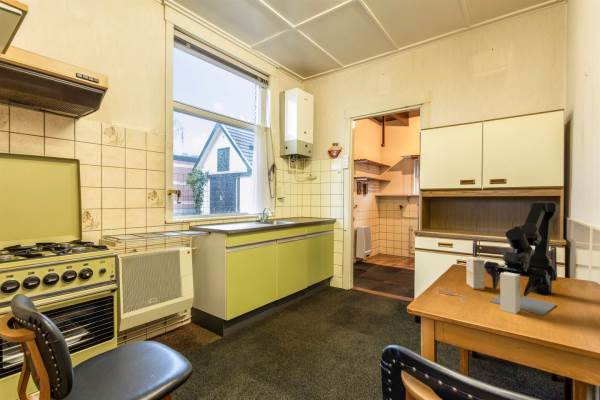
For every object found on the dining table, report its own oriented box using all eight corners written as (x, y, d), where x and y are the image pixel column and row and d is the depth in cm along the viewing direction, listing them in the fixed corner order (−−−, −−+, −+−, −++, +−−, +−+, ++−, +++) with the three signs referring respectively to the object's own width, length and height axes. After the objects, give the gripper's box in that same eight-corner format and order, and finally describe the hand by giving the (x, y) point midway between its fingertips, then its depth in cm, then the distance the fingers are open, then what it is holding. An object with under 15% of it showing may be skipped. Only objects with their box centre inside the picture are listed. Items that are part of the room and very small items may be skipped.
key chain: (432, 294, 120) (432, 292, 120) (441, 290, 124) (441, 289, 124) (464, 303, 109) (464, 300, 109) (473, 299, 114) (473, 297, 114)
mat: (506, 293, 119) (506, 292, 119) (556, 305, 106) (556, 304, 106) (490, 301, 110) (490, 300, 110) (542, 315, 97) (542, 314, 97)
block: (505, 307, 105) (505, 271, 104) (520, 310, 101) (520, 274, 101) (500, 309, 102) (500, 273, 102) (515, 313, 98) (515, 276, 98)
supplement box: (485, 290, 124) (485, 260, 124) (473, 289, 125) (473, 259, 125) (477, 284, 132) (477, 256, 132) (466, 284, 133) (466, 256, 133)
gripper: (486, 240, 111) (473, 272, 105) (547, 246, 96) (536, 285, 90) (494, 258, 116) (482, 290, 110) (554, 267, 101) (544, 304, 94)
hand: (508, 291), depth 101 cm, fingers open, 9 cm apart
